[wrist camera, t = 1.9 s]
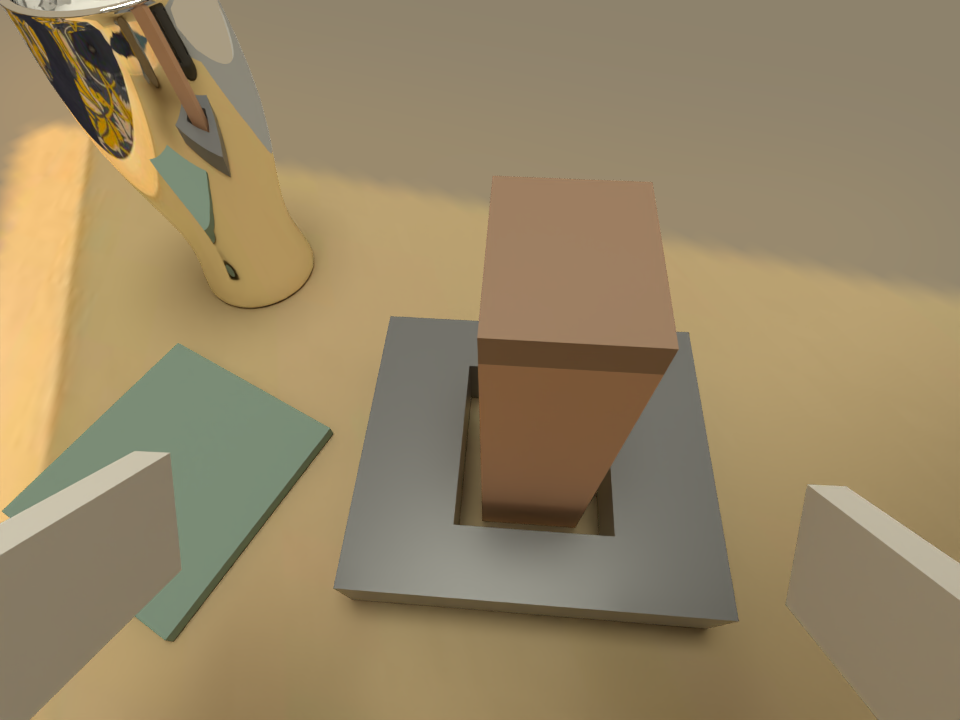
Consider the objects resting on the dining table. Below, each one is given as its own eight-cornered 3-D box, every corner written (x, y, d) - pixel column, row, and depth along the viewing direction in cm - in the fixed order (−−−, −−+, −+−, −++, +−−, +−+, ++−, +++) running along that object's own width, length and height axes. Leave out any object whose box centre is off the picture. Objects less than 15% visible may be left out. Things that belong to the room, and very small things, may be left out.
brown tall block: (572, 421, 25) (652, 182, 13) (575, 527, 22) (678, 348, 10) (490, 416, 25) (492, 175, 13) (482, 520, 22) (477, 338, 10)
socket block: (669, 366, 26) (688, 332, 24) (706, 628, 20) (738, 621, 17) (399, 350, 27) (390, 316, 24) (352, 599, 20) (333, 588, 18)
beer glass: (288, 210, 33) (161, -88, 20) (343, 274, 30) (236, -27, 17) (183, 261, 30) (-35, -38, 18) (231, 336, 27) (11, 41, 15)
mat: (333, 433, 24) (330, 428, 24) (173, 641, 20) (165, 640, 19) (184, 349, 27) (178, 342, 27) (12, 515, 22) (1, 511, 22)
